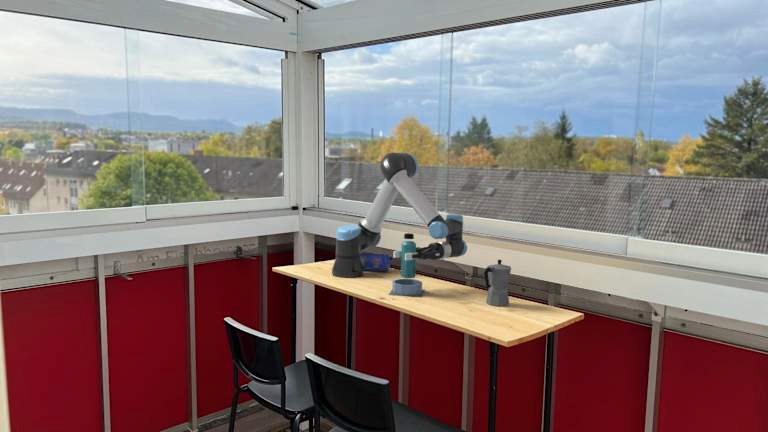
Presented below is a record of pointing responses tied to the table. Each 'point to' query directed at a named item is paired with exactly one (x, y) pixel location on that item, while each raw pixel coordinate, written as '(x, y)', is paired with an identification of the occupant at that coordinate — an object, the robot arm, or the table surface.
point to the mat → (408, 296)
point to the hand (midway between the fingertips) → (399, 255)
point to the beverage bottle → (408, 265)
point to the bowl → (407, 287)
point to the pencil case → (375, 262)
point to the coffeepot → (497, 284)
